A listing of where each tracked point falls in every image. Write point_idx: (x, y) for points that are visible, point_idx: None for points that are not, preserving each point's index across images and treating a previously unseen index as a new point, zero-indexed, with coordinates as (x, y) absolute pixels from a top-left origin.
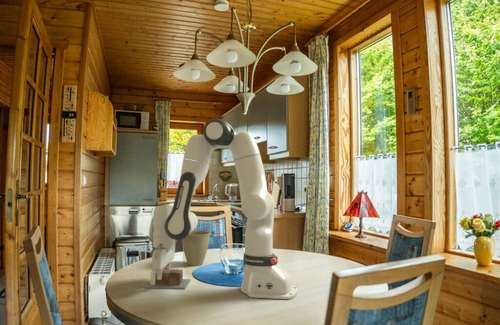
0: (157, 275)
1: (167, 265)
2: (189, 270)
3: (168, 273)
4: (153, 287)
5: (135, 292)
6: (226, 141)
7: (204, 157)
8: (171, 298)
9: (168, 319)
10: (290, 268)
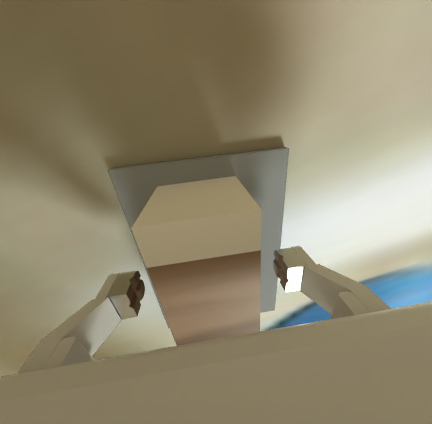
0: (96, 299)
1: (324, 296)
2: (427, 253)
3: (173, 331)
4: (128, 220)
5: (13, 143)
6: None
7: None
8: (56, 323)
9: None
10: None
